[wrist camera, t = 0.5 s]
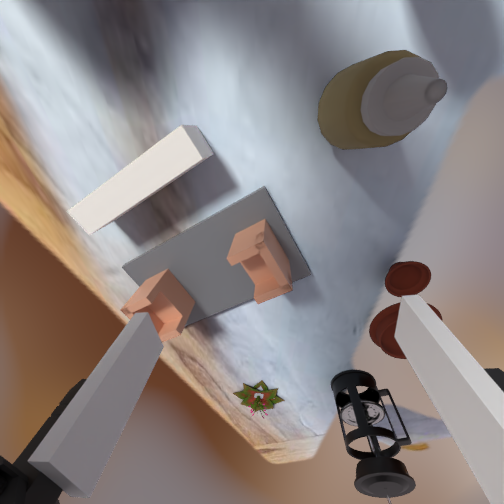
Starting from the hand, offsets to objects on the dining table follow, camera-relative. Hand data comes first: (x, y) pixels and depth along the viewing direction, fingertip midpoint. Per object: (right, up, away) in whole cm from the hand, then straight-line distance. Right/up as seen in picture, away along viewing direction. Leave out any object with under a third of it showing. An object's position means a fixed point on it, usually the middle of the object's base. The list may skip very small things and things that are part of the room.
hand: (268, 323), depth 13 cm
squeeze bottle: (+11, +21, +16) cm, 29 cm away
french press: (+22, -25, +39) cm, 51 cm away
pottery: (+25, -5, +29) cm, 38 cm away
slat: (-16, +15, +22) cm, 31 cm away
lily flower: (+1, -30, +45) cm, 54 cm away
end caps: (-7, +1, +28) cm, 29 cm away
